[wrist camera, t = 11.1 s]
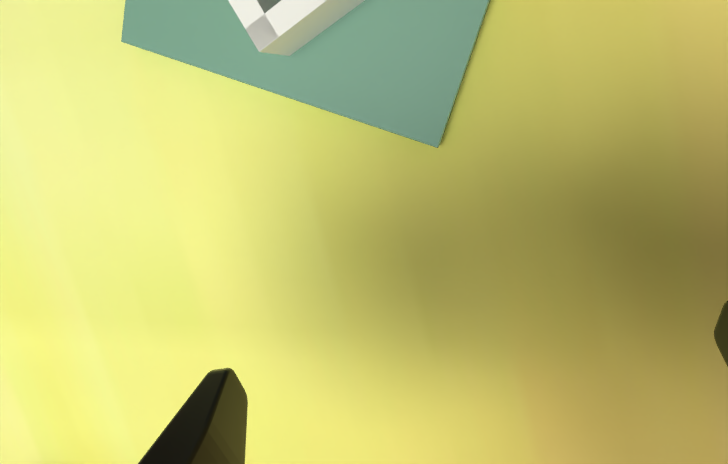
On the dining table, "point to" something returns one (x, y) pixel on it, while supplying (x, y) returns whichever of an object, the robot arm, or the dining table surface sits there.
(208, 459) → the robot arm
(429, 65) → the header board
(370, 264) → the dining table surface
